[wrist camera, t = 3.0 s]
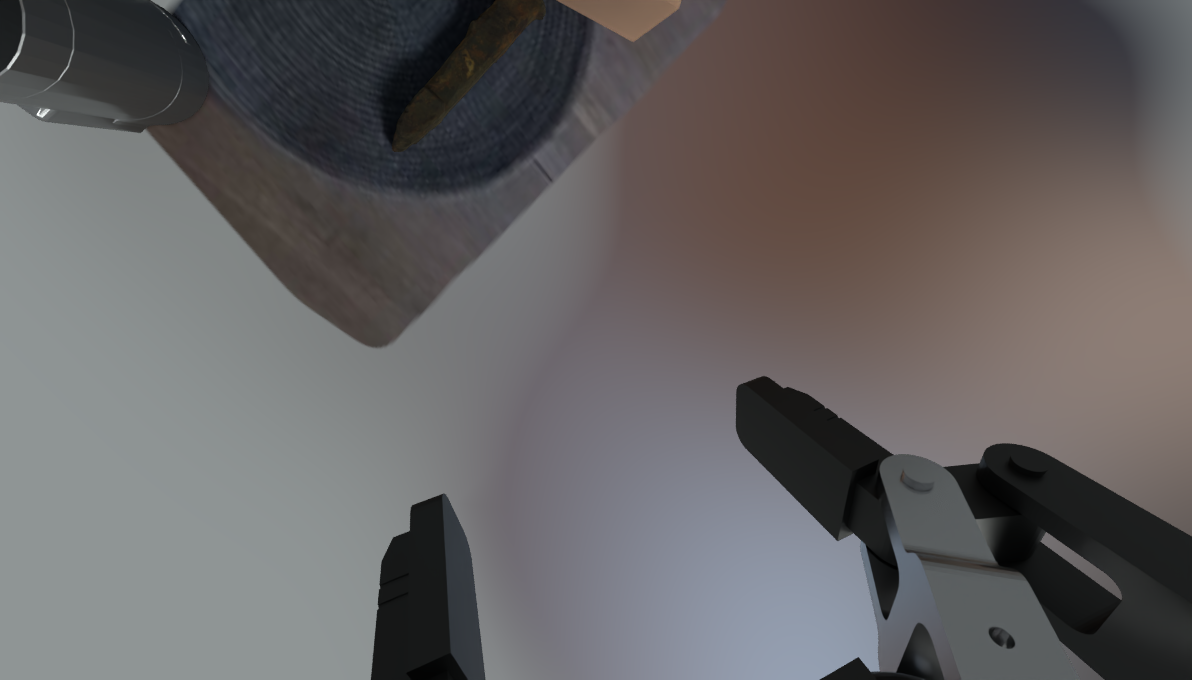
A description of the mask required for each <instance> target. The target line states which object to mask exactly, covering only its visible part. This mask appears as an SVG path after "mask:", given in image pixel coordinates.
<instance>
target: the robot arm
mask: <svg viewBox="0 0 1192 680" xmlns="http://www.w3.org/2000/svg"><path fill="white" fill-rule="evenodd" d="M208 88H209V74H208V70H207V65H206V61H205V59H204V56H203V54H202V52H201V50H200V48H199V46H198V44H197V43H196V41H195V40H194V38H193V37H192V35H191V34H190V32H189V31H188V30H187V29H186V28H185V27H184V26H183V25H182V24H181V23H180V22H179V21H178V20H177V19H176V18H175V17H174V16H172V15H171V14H170V13H169V12H167V11H166V10H165V9H164V8H162V7H160V6H159V5H157V4H155V3H153V2H152V1H151V0H0V102H4V103H11V104H17V105H18V106H20V107H21V108H22V109H24V110H25V111H26V112H28V113H29V114H31V115H32V116H34V117H35V118H37V119H39V120H41V121H45V122H52V123H60V124H69V125H78V126H87V127H95V128H103V129H112V130H120V131H128V132H137V133H141V132H142V131H143V130H144V129H145V128H147V127H148V126H150V125H170V124H174V123H178V122H182V121H184V120H185V119H187V118H189V117H191V116H193V115H194V114H195V113H196V112H197V111H198V110H199V109H200V108H201V106H202V104H203V103H204V101H205V99H206V96H207V92H208ZM736 431H737V434H738V437H739V439H740V441H741V443H742V444H743V445H744V447H745V448H746V449H747V450H748V451H749V452H750V453H751V454H752V455H753V456H754V457H755V458H756V459H757V460H758V461H759V462H760V463H761V464H762V465H763V466H764V467H765V468H766V469H767V470H768V471H769V472H770V473H771V474H772V475H773V476H774V477H775V478H776V479H777V480H778V481H779V482H780V483H781V484H782V485H783V486H784V487H785V488H786V490H787V491H788V492H790V494H791V495H792V496H793V497H794V498H795V499H796V500H797V501H798V502H799V503H800V504H801V505H802V506H803V507H804V508H805V509H806V510H807V511H808V512H809V513H810V514H811V515H812V516H813V517H814V518H815V519H816V520H817V521H818V522H819V523H820V524H821V525H822V526H823V527H824V528H825V529H826V530H827V531H828V532H829V533H830V534H831V535H832V536H833V537H834V538H835V539H836V540H837V541H839V540H841V539H843V538H845V537H847V536H849V535H851V534H853V533H854V534H855V535H856V536H857V537H858V538H859V539H860V540H861V545H860V549H861V555H862V559H863V564H864V568H865V572H866V577H867V581H868V586H869V590H870V595H871V600H872V603H873V608H874V613H875V617H876V622H877V627H878V635H879V636H878V640H879V641H878V659H879V669H880V672H870V671H869V669H868V668H867V667H866V666H865V665H864V663H863V662H862V661H861V660H860V658H859V657H858V658H856V659H855V660H853V661H851V662H849V663H848V664H846V665H844V666H843V667H841V668H839V669H837V670H836V671H834V672H832V673H831V674H829V675H827V676H825V677H824V678H822V679H820V680H1080V678H1079V677H1078V675H1077V673H1076V671H1075V669H1074V667H1073V665H1072V663H1071V661H1070V659H1069V658H1068V656H1067V654H1066V652H1065V650H1064V648H1063V646H1062V645H1061V643H1060V641H1061V642H1062V643H1063V644H1064V645H1065V646H1066V647H1068V648H1069V649H1070V650H1071V651H1072V652H1073V653H1075V654H1076V655H1077V656H1078V657H1079V658H1080V659H1081V660H1083V661H1084V662H1085V663H1086V664H1087V665H1088V666H1090V667H1091V668H1092V669H1093V670H1094V671H1095V672H1096V673H1098V674H1099V675H1100V676H1101V677H1102V678H1103V679H1105V680H1192V536H1190V535H1188V534H1186V533H1185V532H1183V531H1181V530H1179V529H1178V528H1176V527H1174V526H1172V525H1171V524H1169V523H1167V522H1165V521H1163V520H1162V519H1160V518H1158V517H1156V516H1155V515H1153V514H1151V513H1150V512H1148V511H1146V510H1144V509H1142V508H1140V507H1139V506H1137V505H1135V504H1134V503H1132V502H1130V501H1128V500H1127V499H1125V498H1123V497H1121V496H1119V495H1118V494H1116V493H1114V492H1113V491H1111V490H1109V489H1107V488H1106V487H1104V486H1102V485H1100V484H1099V483H1097V482H1095V481H1093V480H1091V479H1090V478H1088V477H1086V476H1085V475H1083V474H1081V473H1079V472H1078V471H1076V470H1074V469H1072V468H1071V467H1069V466H1067V465H1065V464H1064V463H1062V462H1060V461H1058V460H1057V459H1055V458H1053V457H1051V456H1049V455H1047V454H1045V453H1043V452H1041V451H1038V450H1036V449H1033V448H1030V447H1026V446H1022V445H1017V444H995V445H992V446H990V447H988V448H987V449H986V450H985V452H984V454H983V456H982V459H981V462H980V463H979V464H968V465H959V466H949V467H942V466H940V465H939V464H937V463H935V462H933V461H931V460H928V459H926V458H923V457H919V456H915V455H908V454H907V455H906V454H899V455H893V454H891V453H890V452H889V451H887V450H886V449H884V448H882V447H881V446H880V445H879V444H877V443H876V442H874V441H873V440H871V439H870V438H869V437H867V436H866V435H865V434H863V433H862V432H860V431H859V430H857V429H856V428H855V427H853V426H852V425H850V424H849V423H848V422H846V421H845V420H843V419H842V418H838V416H837V415H836V414H835V413H833V412H832V411H831V410H829V409H828V408H826V409H825V407H824V406H823V405H822V404H821V403H819V402H818V401H816V400H815V399H814V398H812V397H811V396H809V395H808V394H805V393H803V392H800V391H797V390H795V389H792V388H789V387H787V388H782V387H781V386H779V385H778V384H777V383H775V382H774V381H773V380H771V379H770V378H768V377H765V376H762V377H759V378H756V379H754V380H751V381H748V382H746V383H743V384H741V385H739V386H738V387H737V392H736ZM1046 532H1047V533H1049V534H1050V535H1052V536H1053V537H1055V538H1056V539H1057V540H1059V541H1060V542H1062V543H1063V544H1064V545H1066V546H1067V547H1069V548H1070V549H1072V550H1073V551H1074V552H1076V553H1077V554H1079V555H1080V556H1081V557H1083V558H1084V559H1086V560H1087V561H1089V562H1090V563H1091V564H1093V565H1094V566H1096V567H1097V568H1099V569H1100V570H1101V571H1103V572H1104V573H1106V574H1107V575H1108V576H1109V577H1110V578H1111V579H1112V580H1113V581H1114V582H1115V583H1116V585H1117V586H1118V587H1119V589H1120V591H1121V594H1122V600H1120V599H1119V598H1117V597H1116V596H1114V595H1113V594H1112V593H1110V592H1109V591H1107V590H1106V589H1105V588H1103V587H1102V586H1100V585H1099V584H1098V583H1096V582H1095V581H1094V580H1092V579H1091V578H1089V577H1088V576H1087V575H1085V574H1084V573H1082V572H1081V571H1080V570H1078V569H1077V568H1076V567H1074V566H1073V565H1072V564H1070V563H1069V562H1067V561H1066V560H1065V559H1063V558H1062V557H1061V556H1059V555H1058V554H1056V553H1055V552H1054V551H1052V550H1051V549H1050V548H1048V547H1047V546H1045V545H1044V544H1043V543H1041V542H1040V541H1041V540H1042V538H1043V536H1044V534H1045V533H1046ZM378 607H379V609H378V610H377V620H376V631H375V641H374V653H373V663H372V674H371V680H485V672H484V663H483V654H482V646H481V637H480V629H479V619H478V611H477V602H476V593H475V584H474V575H473V567H472V558H471V553H470V548H469V545H468V542H467V538H466V536H465V533H464V531H463V529H462V527H461V524H460V522H459V520H458V518H457V516H456V514H455V512H454V510H453V508H452V506H451V503H450V501H449V499H448V497H447V496H446V495H445V494H441V495H439V496H436V497H433V498H431V499H428V500H426V501H423V502H420V503H417V504H415V505H412V507H411V513H410V531H409V532H407V533H404V534H401V535H398V536H396V537H394V538H393V539H392V541H391V543H390V545H389V547H388V549H387V552H386V553H385V556H384V558H383V560H382V564H381V574H380V589H379V597H378Z"/></svg>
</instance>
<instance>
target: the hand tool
mask: <svg viewBox="0 0 1192 680" xmlns="http://www.w3.org/2000/svg"><path fill="white" fill-rule="evenodd" d="M545 13H546V9H545V4H544V2H543V0H495V2H494V3H493V4H492V5H491V6H490V7H489V8H488V9H487V10H486V11H485V12H484V13H483V14H481V15H480V16H479V18H478V19H477V20H473V21H472V22H471V23H470V25H469V29H468V32H467V34H466V37H465V38H464V39H463V41H462V42H461V43H460V44H459V45H458V46H457V48H456V49H455V50H454V51H453V52H452V53H451V55H450V56H449V58H448V59H447V60H446V61H445V63H444V64H443V65H442V67H441V68H440V69H439V70H438V71H437V72H436V74H435V75H434V76H433V77H432V78H431V79H430V80H429V81H428V83H427V84H426V85H425V87H423V88H422V89H421V90H420V91H419V92H418V93H417V94H416V95H415V96H414V97H413V99H412V101H411V102H410V103H409V104H408V105H407V107H406V108H405V110H404V112H403V113H402V115H401V117H400V118H399V120H398V122H397V124H396V127H397V128H396V131H395V134H394V138H393V143H392V150H393V151H394V152H402V151H404V150H406V149H407V148H408V147H409V146H411V145H412V144H416V143H417V142H419V141H420V140H421V139H422V138H423V137H424V136H425V135H426V134H427V133H428V132H429V131H430V130H432V129H434V128H435V127H436V126H437V125H438V124H440V123H441V121H442V120H443V118H444V117H445V116H446V115H447V114H448V112H449V111H450V110H451V109H452V108H453V107H454V106H455V105H456V104H457V103H458V102H459V101H460V100H461V99H462V98H463V97H464V96H465V94H466V93H467V92H468V91H469V90H470V89H471V88H472V87H473V86H474V85H475V84H476V83H477V82H478V80H479V79H480V78H481V77H482V76H483V74H484V73H485V72H486V71H487V70H488V69H489V68H490V67H491V66H492V65H493V64H494V63H495V62H496V61H497V60H498V59H499V58H500V57H501V56H502V55H503V54H504V53H505V52H506V51H507V49H508V48H509V47H510V46H511V45H512V44H513V42H514V41H515V39H516V38H517V37H518V35H520V34H521V33H522V32H523V30H524V29H525V28H526V27H527V26H528V25H529V24H530V23H531V22H532V21H534V20H536V19H538V20H542V19H543V17H544V16H545Z"/></svg>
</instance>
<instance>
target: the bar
mask: <svg viewBox="0 0 1192 680" xmlns="http://www.w3.org/2000/svg"><path fill="white" fill-rule="evenodd" d="M557 1H559V2H561V3H563V4H564V5H566V6H568V7H570V8H572V9H574V10H575V11H577V12H579V13H581V14H583V15H585V16H586V17H588V18H590V19H592V20H594V21H596V22H597V23H599V24H601V25H603V26H605V27H606V28H608V29H610V30H612V31H614V32H616V33H617V34H619V35H621V36H623V37H625V38H627V39H628V40H630V41H632V42H634V41H635V40H637V39H638V38H639V37H641V36H642V35H644V34H645V33H646V32H648V31H649V30H650V29H652V28H653V27H654V26H656V25H657V24H659V23H660V22H661V21H663V20H664V19H665V18H667V17H668V16H670V15H671V14H672V13H674V12H675V11H676V10H678V9H679V6H680V3H681V0H557Z"/></svg>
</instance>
